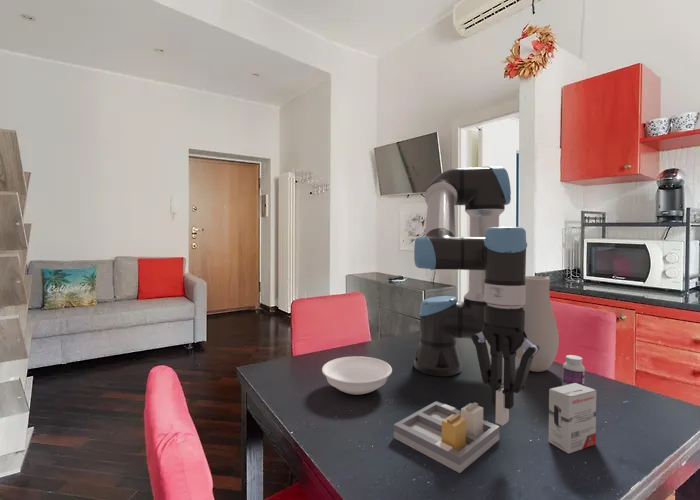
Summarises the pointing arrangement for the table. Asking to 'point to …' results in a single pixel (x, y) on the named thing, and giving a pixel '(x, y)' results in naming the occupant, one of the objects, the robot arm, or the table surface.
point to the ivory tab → (473, 418)
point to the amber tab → (454, 431)
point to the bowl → (357, 374)
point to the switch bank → (427, 436)
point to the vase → (539, 323)
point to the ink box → (572, 417)
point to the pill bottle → (573, 371)
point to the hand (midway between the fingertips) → (502, 421)
